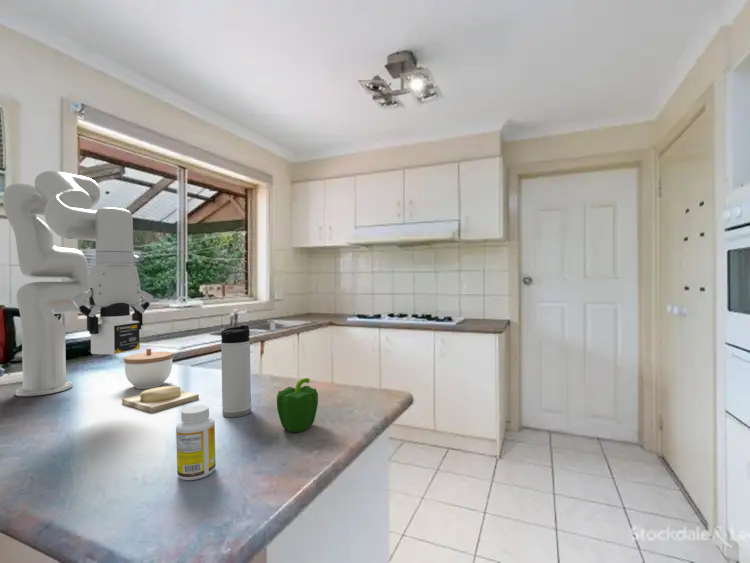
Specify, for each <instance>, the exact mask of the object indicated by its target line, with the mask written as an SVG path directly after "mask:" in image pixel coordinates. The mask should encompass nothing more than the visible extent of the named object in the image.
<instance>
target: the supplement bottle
mask: <svg viewBox="0 0 750 563" xmlns="http://www.w3.org/2000/svg"><path fill="white" fill-rule="evenodd" d="M209 409H210V407H209V406H208V405H203V404H198V405H196V404H195V405H191V406H188V407H185V408H183V409H182V410H181V413H180V414H181V416H180V417H181V418H180V419H181V421H180V422H178V423H177V424H176V427H175V428H176V429H175V437H176V438H175V439H176V472H177V476H178V478H179V479H180V480H184V481H195V480H196V481H197V480H200V479H203V478H205V477H207V476H209V475H211V474H212V473H213V472H214V471H215V469H216V463H217V462H216V430H215V426H216V425H215V419H214V418H213V417H211V416H210V410H209Z"/></svg>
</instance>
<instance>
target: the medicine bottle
mask: <svg viewBox="0 0 750 563" xmlns="http://www.w3.org/2000/svg"><path fill="white" fill-rule="evenodd" d="M99 319H100V320H101V322H99V321H98V333H97V334H90V353H91V354H92V355H120V354H124V353H125V354H126V353H130V352H134V351H138V350H140V349H141V347H140V344H141V342H140V329H139V321H132V320H130V319H131V307H130V305H129V304H127V303H115V304H111V305H109V306H108V307H102V308H101V309H100V310H99Z"/></svg>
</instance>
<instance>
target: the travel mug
mask: <svg viewBox="0 0 750 563" xmlns="http://www.w3.org/2000/svg"><path fill="white" fill-rule="evenodd" d="M220 333H221V336H220V337H221V339H220V344H221V347H220V348H221V350H220V351H221V357H220V358H221V395H222V396H221V398H222V399H221V404H222V405H221V408H222V411H221V412H222V416H224V417H226V418H239V417H240V418H241V417H244V416H246V415H249V414H250V413H251V412H252V388H251V387H252V386H251V383H252V381H251V377H252V376H251V344H250V342H251V339H250V327H249V325H245V324H243V325H240V326H234V327H230V328H226V329H223V330H221V332H220Z"/></svg>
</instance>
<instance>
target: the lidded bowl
mask: <svg viewBox="0 0 750 563" xmlns="http://www.w3.org/2000/svg"><path fill="white" fill-rule="evenodd" d="M173 355H174V354H173V352H171V351H152V348H146V352H140V353H135V354H130V355H127V356H124V358H123V363H124V373H125V376H126V379H127V381H128V382H129V383H130V384H131V385H132V386H134V388H135V389H137V390H148V389H152V388H157V387H161V386H163V385H164V383H165V382H166V380H168V378H169V377H170V374H171V372H172V368H173ZM162 384H163V385H162ZM160 385H161V386H160Z"/></svg>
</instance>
